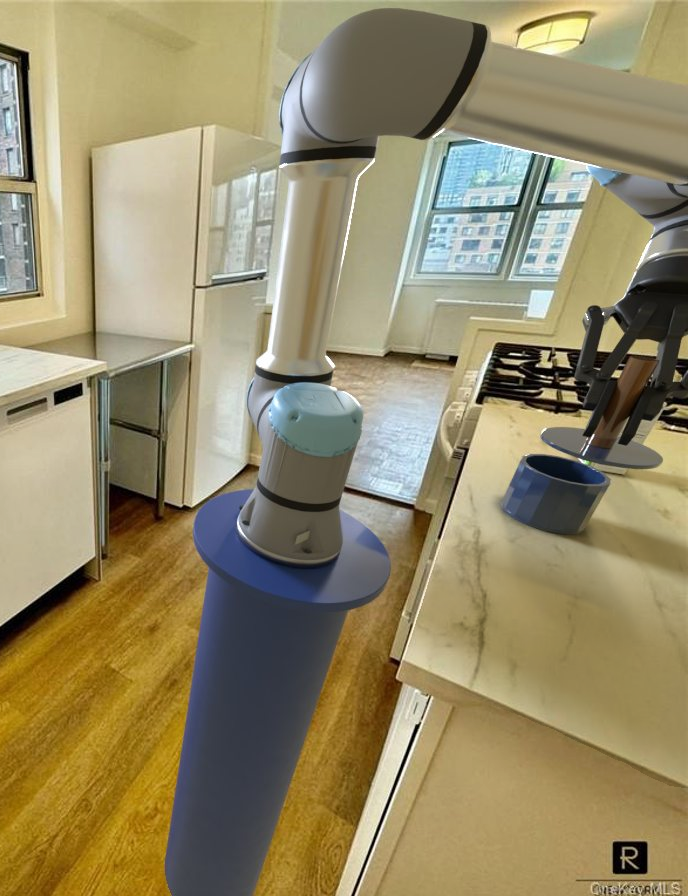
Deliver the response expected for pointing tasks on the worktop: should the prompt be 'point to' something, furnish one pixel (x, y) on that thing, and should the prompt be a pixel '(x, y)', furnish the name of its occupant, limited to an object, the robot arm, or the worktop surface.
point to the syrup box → (639, 438)
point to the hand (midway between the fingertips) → (607, 435)
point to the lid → (612, 425)
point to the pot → (554, 493)
